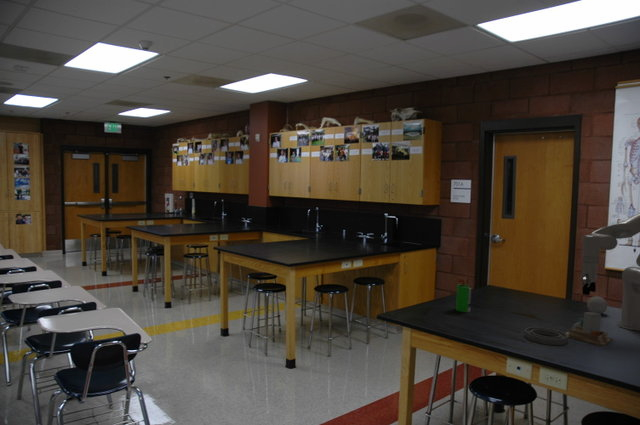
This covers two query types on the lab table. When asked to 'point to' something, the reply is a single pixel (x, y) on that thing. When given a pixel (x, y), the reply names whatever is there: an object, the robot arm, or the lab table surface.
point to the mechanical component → (537, 333)
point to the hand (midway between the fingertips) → (588, 293)
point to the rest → (588, 336)
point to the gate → (578, 324)
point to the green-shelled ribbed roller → (463, 297)
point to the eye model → (597, 304)
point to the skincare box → (592, 323)
